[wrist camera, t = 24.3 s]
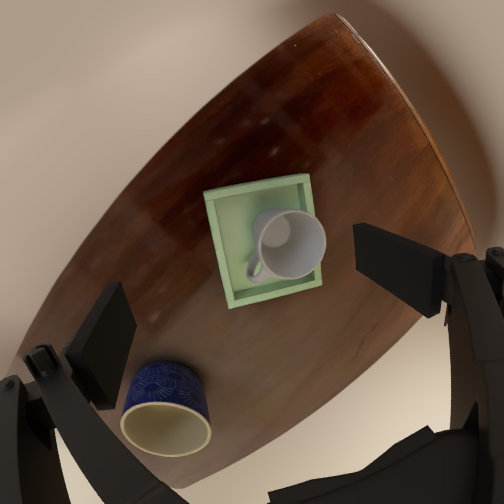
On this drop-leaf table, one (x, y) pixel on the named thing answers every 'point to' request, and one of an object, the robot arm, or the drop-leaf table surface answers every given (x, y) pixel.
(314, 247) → the cup
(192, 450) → the planter
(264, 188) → the tray
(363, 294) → the drop-leaf table surface
